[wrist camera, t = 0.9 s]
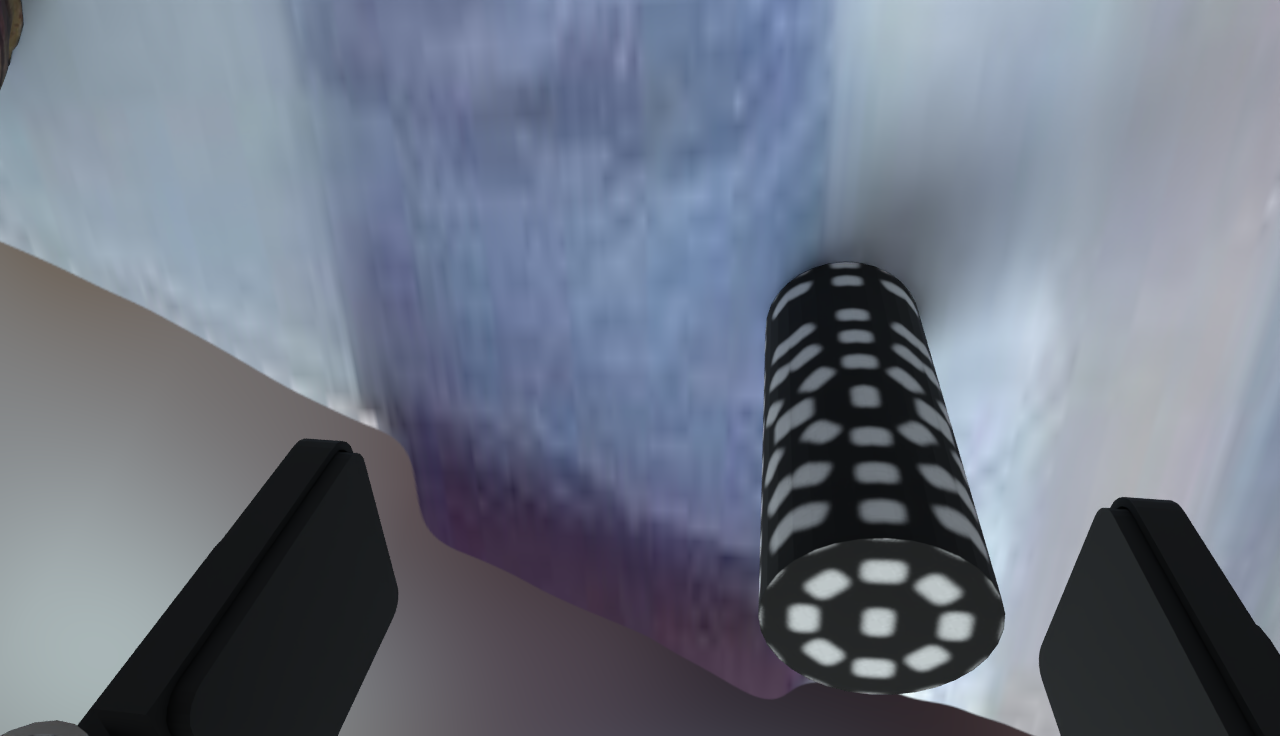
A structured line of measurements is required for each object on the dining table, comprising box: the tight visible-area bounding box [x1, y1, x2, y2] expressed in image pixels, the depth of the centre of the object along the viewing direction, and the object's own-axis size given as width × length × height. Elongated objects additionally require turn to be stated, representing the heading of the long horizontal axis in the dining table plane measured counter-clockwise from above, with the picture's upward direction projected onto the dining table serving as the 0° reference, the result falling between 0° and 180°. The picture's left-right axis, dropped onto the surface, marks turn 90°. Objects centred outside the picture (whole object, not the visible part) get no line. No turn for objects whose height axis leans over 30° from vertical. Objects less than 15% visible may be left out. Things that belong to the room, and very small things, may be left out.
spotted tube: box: [759, 262, 1005, 695], centre depth 36 cm, size 8×8×20 cm
